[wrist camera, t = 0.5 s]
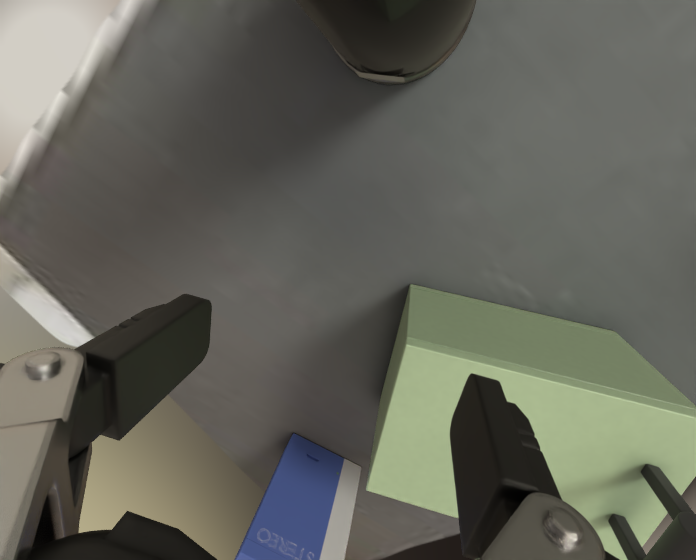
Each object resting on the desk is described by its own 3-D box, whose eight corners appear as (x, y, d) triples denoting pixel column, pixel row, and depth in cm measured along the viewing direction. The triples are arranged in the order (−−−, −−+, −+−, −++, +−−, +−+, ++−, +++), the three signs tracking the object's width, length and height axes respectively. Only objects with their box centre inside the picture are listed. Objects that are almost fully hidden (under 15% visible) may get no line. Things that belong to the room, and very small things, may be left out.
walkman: (284, 449, 37) (226, 576, 26) (293, 432, 36) (237, 557, 25) (351, 483, 37) (321, 626, 26) (362, 467, 36) (336, 608, 25)
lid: (721, 416, 18) (840, 521, 13) (619, 556, 22) (678, 677, 17) (406, 337, 20) (401, 401, 15) (367, 480, 24) (352, 569, 19)
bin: (615, 331, 26) (701, 410, 18) (555, 445, 31) (603, 551, 23) (410, 283, 28) (406, 336, 20) (380, 397, 33) (367, 479, 24)
